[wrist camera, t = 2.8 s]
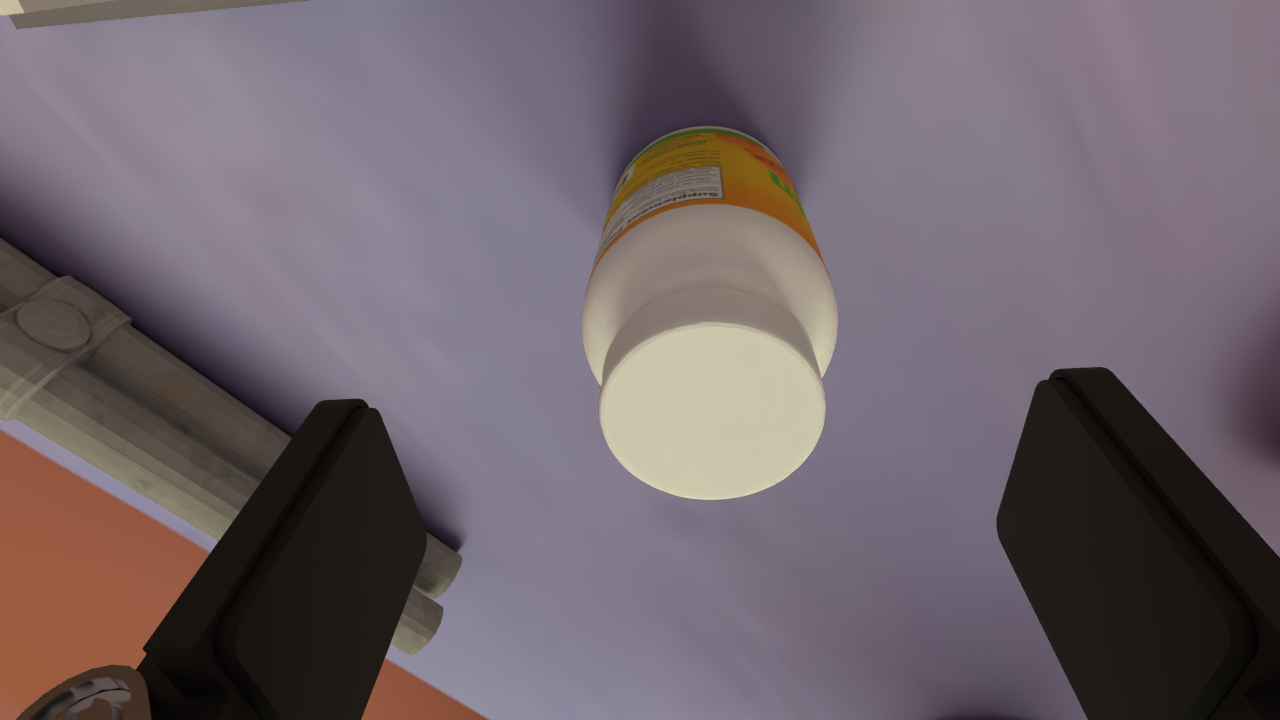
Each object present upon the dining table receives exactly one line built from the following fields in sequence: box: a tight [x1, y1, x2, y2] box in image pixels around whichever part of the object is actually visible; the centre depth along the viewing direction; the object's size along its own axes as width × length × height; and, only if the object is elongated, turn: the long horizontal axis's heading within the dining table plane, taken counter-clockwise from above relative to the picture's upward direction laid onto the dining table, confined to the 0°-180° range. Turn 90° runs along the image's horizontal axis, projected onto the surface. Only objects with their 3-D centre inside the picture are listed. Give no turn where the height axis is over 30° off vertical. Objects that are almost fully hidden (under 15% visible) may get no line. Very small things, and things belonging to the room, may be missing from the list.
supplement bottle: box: [582, 126, 838, 500], centre depth 16 cm, size 5×5×10 cm
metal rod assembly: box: [0, 237, 462, 655], centre depth 22 cm, size 26×3×5 cm, turn 42°
